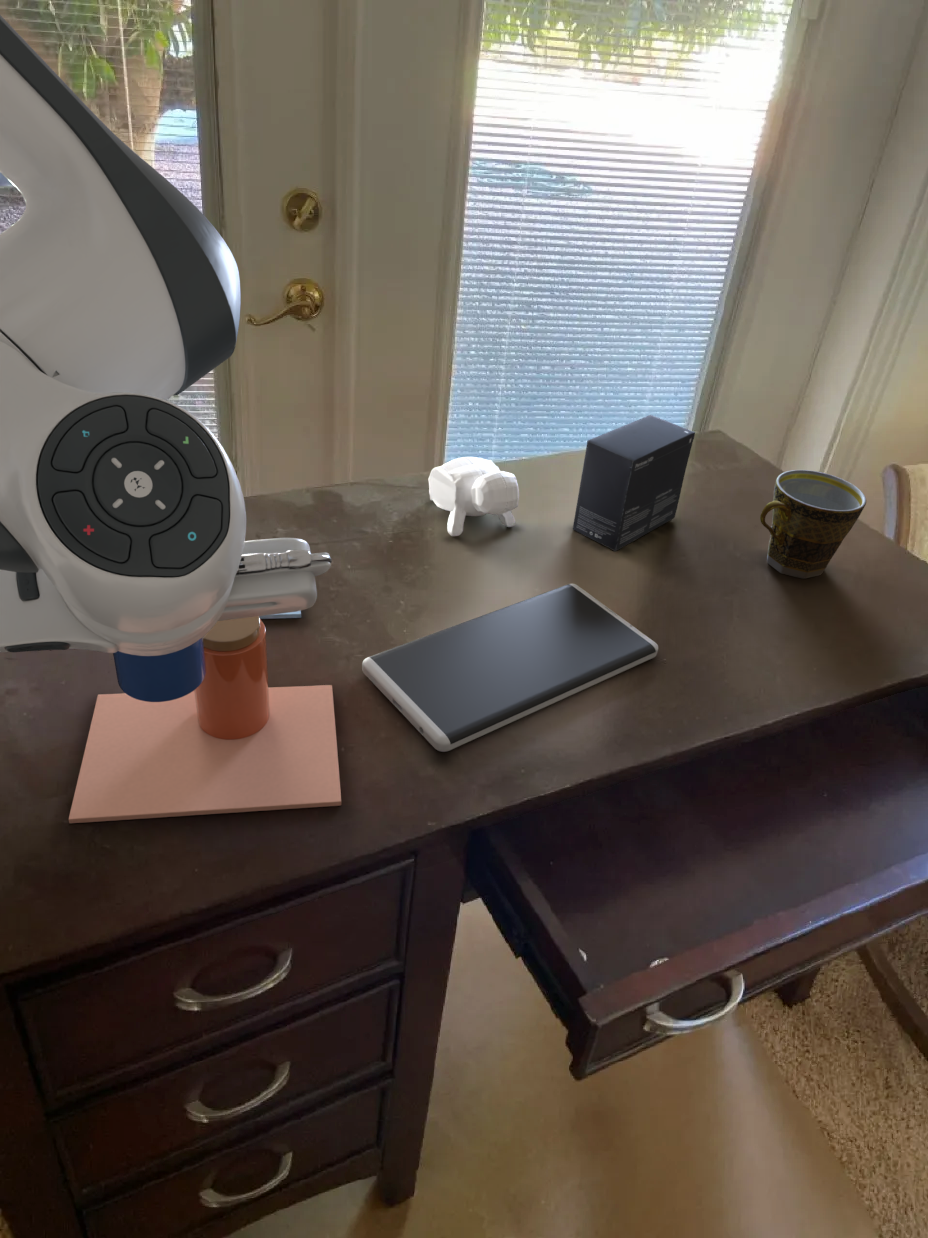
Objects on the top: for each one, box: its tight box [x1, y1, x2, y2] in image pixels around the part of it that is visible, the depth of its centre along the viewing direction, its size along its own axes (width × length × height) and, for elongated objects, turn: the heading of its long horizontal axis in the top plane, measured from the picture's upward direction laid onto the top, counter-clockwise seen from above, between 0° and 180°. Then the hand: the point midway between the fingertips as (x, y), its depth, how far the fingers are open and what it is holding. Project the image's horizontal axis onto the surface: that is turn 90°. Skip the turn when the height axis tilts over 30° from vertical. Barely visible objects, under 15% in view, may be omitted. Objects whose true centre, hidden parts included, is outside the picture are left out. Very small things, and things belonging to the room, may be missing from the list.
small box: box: [572, 414, 696, 552], centre depth 107 cm, size 13×7×12 cm, turn 136°
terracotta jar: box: [194, 616, 270, 740], centre depth 73 cm, size 6×6×10 cm
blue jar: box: [112, 637, 206, 702], centre depth 61 cm, size 6×6×10 cm
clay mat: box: [68, 684, 342, 824], centre depth 73 cm, size 20×14×1 cm
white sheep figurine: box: [427, 456, 520, 537], centre depth 105 cm, size 8×8×15 cm
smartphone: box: [361, 583, 659, 753], centre depth 85 cm, size 13×27×2 cm, turn 127°
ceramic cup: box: [759, 469, 867, 580], centre depth 103 cm, size 13×10×10 cm
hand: (153, 614), depth 61 cm, fingers closed on blue jar, 6 cm apart
